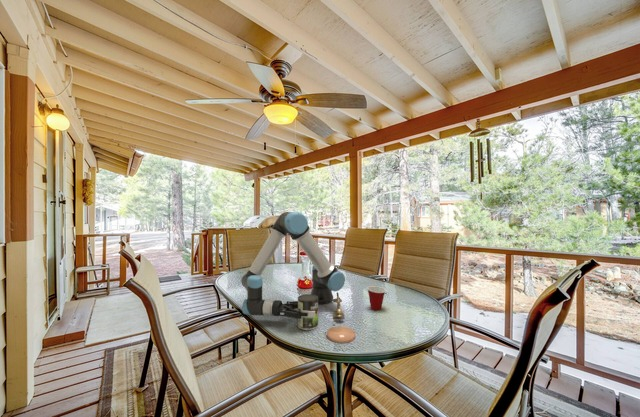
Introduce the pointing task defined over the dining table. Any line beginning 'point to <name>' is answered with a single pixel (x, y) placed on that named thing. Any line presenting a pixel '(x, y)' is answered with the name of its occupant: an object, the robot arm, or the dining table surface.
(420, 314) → the dining table surface
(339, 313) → the balance
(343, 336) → the dish
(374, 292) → the plastic cup
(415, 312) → the dining table surface
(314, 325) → the coffee can
